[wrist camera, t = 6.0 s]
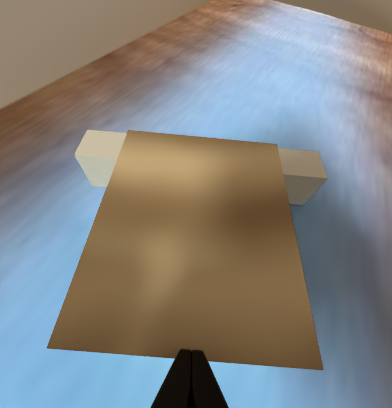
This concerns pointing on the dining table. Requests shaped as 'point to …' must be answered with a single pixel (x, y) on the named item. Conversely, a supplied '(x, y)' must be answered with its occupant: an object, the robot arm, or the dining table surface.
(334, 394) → the dining table surface
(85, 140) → the cream board
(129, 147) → the oak block
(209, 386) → the robot arm
